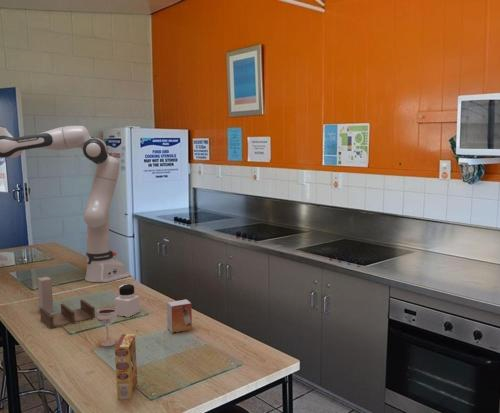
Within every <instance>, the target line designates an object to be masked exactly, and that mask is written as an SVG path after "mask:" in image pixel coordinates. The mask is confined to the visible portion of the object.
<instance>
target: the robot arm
mask: <svg viewBox="0 0 500 413" xmlns="http://www.w3.org/2000/svg"><path fill="white" fill-rule="evenodd" d="M33 149H46V150H51V151H64V150H71V149H81V150H82V152H83V155H84V157H85V158H87V160H89V161H91V162H92V163H94V164H96V170H95V173H94V178H93V182H92V186H91V190H90V193H89V195H88V198H87V202H86V204H85V207H84V213H83V220H84V222H85V223H86V237H85V238H86V241H85V242H86V254H85V260H86V274H85V277H84V280H85V281H87V282H88V283H89V282H90V283H92V282H93V283H109V282H113V281H116V280H120V279H125V278H128V277H131V272H129V271H127V270H126V268H125V265H124V263H123V262H121V261H120V260H119V259H117V258H115V256H117V254H118V253H117V252H116V251H112V250H110V208H111V205H112V201H113V198H114V195H115V190H116V187H117V182H118V178H119V174H120V161H119V159H117V158H116V157H114V156H112V155H110V154H108V151H109V149H108V146H107V143H106V142H105V141H103V140H102V139H101V138H97V137H93V136H91V135H90V133H89V130H88V129H87V128H86V126H83V125H65V126H61V127H56V128H52V129H50V130H46V131H43V132H41V133H36V134H31V135H24V136H18V137H17V136H16V137H14V136H13V135H12V134H11V133H10V132H9V131H8V129H7V128H6V127H5V126H4V125H3V126H2V125H0V158H6V159H7V158H9V159H14V158H15V159H16V158H18V157H20V156H21V155H22V153H23V151H26V150H27V151H28V150H33Z"/></svg>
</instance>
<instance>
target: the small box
mask: <svg viewBox="0 0 500 413" xmlns="http://www.w3.org/2000/svg"><path fill="white" fill-rule="evenodd" d="M192 310H193V309H192V303H191V302H190V301H189V300H188V299H181V300H174V301H173V300H172V301H167V302H166V315H167V317H166V322H167V326H166V327H167V330H168V329H169V330H170V331H169V330H168V331H169V332H170V333H171V334H174V332H176V333H180V331H182V332H188V331H192V327H193V326H192V324H193V321H192V319H193V318H192V316H193V314H192V312H193V311H192ZM187 330H188V331H187Z"/></svg>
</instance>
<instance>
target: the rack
mask: <svg viewBox="0 0 500 413" xmlns="http://www.w3.org/2000/svg"><path fill="white" fill-rule="evenodd" d="M79 301H80V308H77V309H76V308H75V309H71V308H70V307H69V306H67V305H66V304H65V303H60V313H59V312H58V313H54V314H51V313H48V312H47V311H46V310H45V309H44V308H39V312H40V321H42V322H43V323H44V324H45V325H46V326H47V327H48V328H49V329H51V330H52V329H57V328H60V327H61V328H62V327H63V326H62V325H66V324H70V323H74V324H77V323H76V322H78V323H81V322H80V321H82V322H85V320H87V321H90V320H89V319H91V320H94V319H93V318H95V319H96V310H95V307H94V306H93V305H91V304H90V303H88V302H87V301H86V300H84V299H80V300H79ZM70 325H71V324H70ZM66 326H67V325H66Z"/></svg>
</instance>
